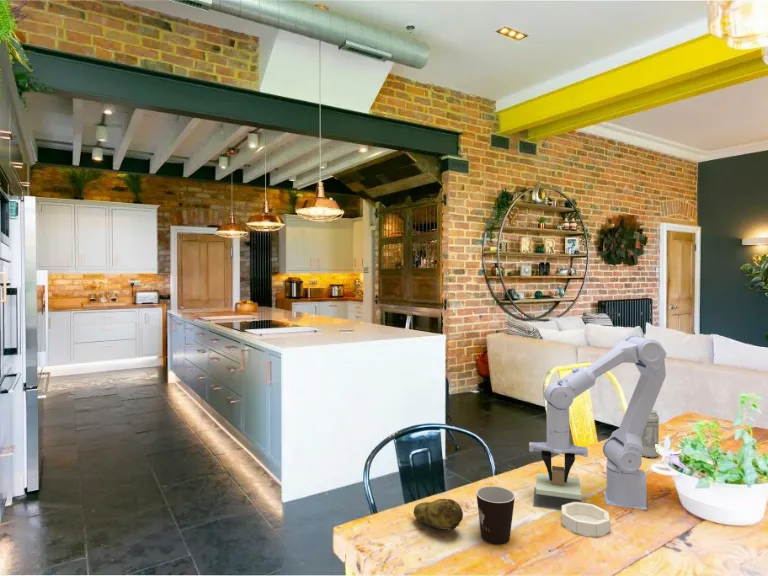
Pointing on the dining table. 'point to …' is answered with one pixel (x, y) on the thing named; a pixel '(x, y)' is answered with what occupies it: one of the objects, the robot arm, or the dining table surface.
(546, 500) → the mat
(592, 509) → the dish
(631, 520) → the dining table surface
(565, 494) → the lid
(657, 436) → the energy drink can
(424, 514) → the potato
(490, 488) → the coffee mug
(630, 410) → the robot arm
